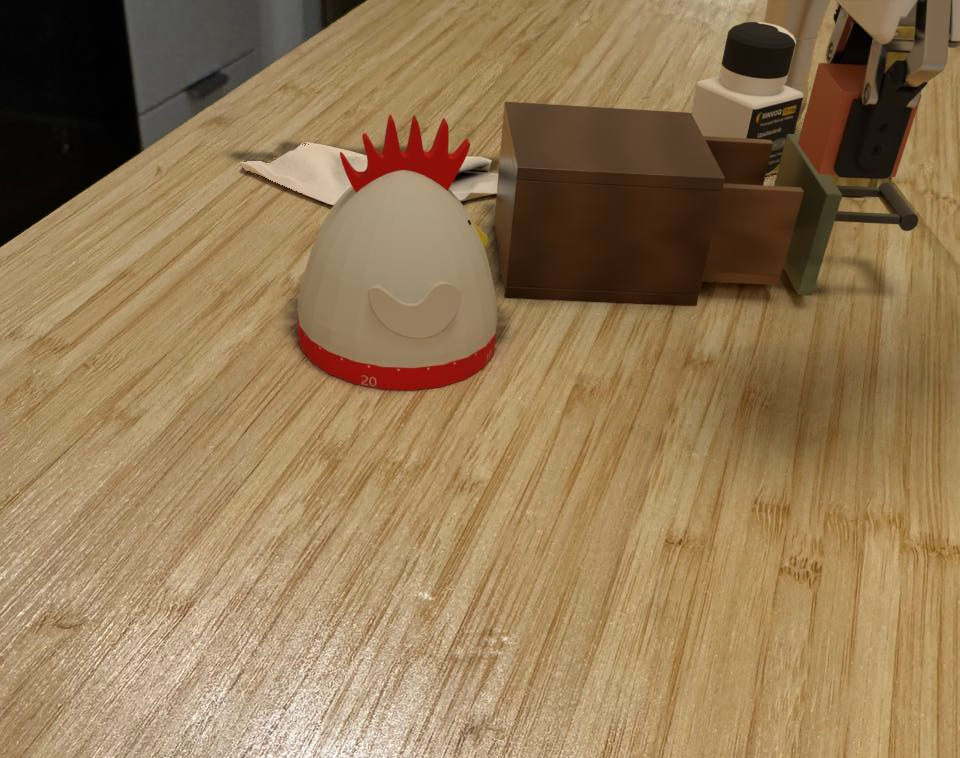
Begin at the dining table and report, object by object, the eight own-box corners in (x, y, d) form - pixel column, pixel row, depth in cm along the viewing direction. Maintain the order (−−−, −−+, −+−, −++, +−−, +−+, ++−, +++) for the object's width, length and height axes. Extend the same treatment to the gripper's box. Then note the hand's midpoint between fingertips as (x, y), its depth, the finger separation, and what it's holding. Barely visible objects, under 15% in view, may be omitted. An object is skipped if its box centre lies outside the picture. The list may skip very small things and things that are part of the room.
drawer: (864, 234, 97) (894, 139, 91) (908, 300, 88) (944, 200, 83) (617, 222, 95) (633, 124, 89) (639, 288, 87) (658, 184, 81)
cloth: (213, 195, 95) (211, 167, 93) (264, 136, 105) (262, 111, 103) (521, 240, 93) (523, 213, 91) (543, 177, 103) (545, 151, 101)
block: (870, 147, 68) (895, 66, 64) (895, 178, 64) (922, 94, 61) (797, 143, 67) (818, 62, 64) (818, 174, 64) (841, 90, 61)
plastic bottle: (761, 109, 120) (815, -113, 106) (812, 131, 117) (874, -96, 103) (721, 120, 117) (770, -108, 103) (772, 142, 113) (830, -91, 100)
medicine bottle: (736, 186, 105) (769, 45, 96) (680, 159, 108) (706, 21, 100) (785, 171, 108) (821, 34, 100) (729, 145, 112) (759, 11, 104)
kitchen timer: (514, 385, 77) (538, 161, 66) (308, 394, 74) (301, 162, 64) (473, 288, 87) (489, 79, 76) (290, 292, 84) (281, 76, 73)
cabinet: (667, 232, 96) (691, 112, 90) (696, 306, 87) (725, 178, 80) (494, 224, 95) (504, 101, 88) (504, 297, 86) (517, 167, 79)
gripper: (1122, -202, 47) (963, 224, 60) (969, -257, 59) (863, 107, 72) (950, -215, 47) (825, 219, 59) (830, -269, 59) (748, 101, 71)
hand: (847, 154), depth 66 cm, fingers closed on block, 4 cm apart
